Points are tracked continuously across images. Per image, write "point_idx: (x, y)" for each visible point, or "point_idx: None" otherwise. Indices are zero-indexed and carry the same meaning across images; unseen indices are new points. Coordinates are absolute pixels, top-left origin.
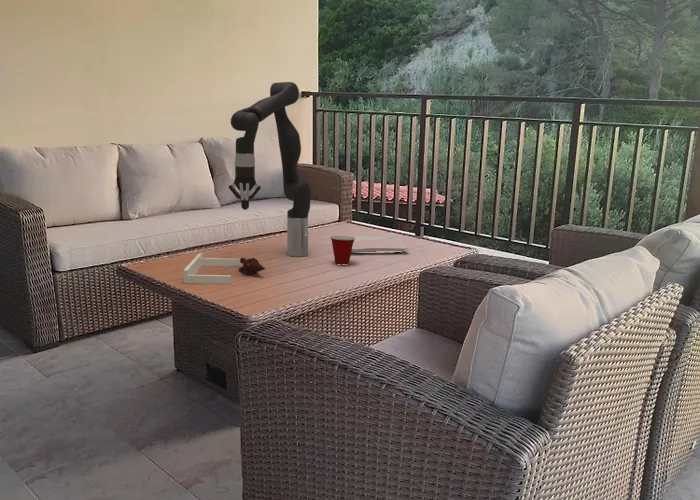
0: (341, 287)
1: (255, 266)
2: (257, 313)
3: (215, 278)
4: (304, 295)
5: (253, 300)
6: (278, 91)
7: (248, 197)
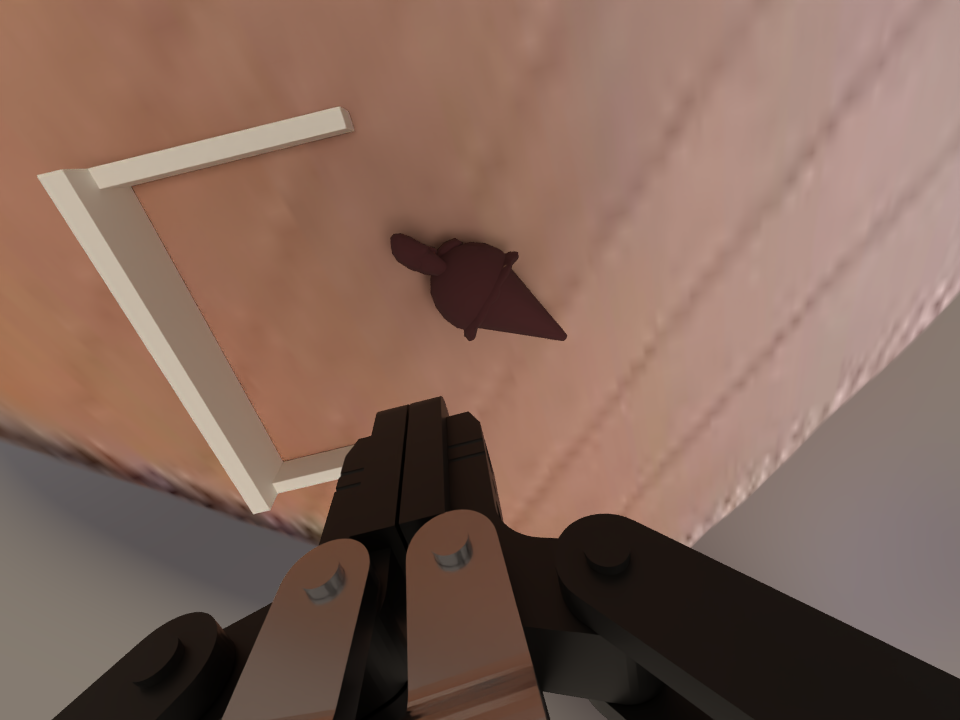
0: (863, 349)
1: (516, 333)
2: None
3: None
4: (726, 464)
5: None
6: None
7: (539, 683)
